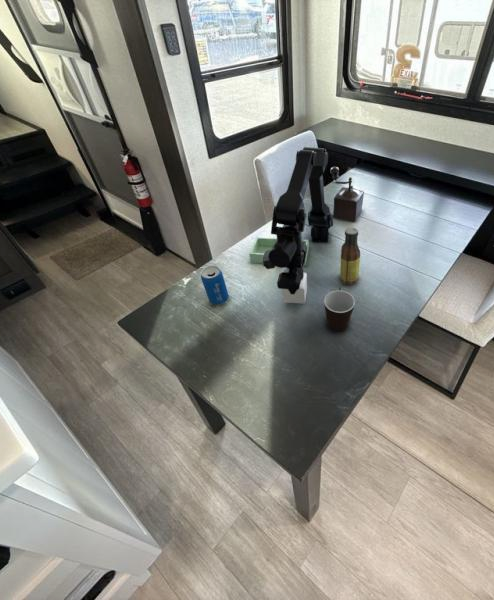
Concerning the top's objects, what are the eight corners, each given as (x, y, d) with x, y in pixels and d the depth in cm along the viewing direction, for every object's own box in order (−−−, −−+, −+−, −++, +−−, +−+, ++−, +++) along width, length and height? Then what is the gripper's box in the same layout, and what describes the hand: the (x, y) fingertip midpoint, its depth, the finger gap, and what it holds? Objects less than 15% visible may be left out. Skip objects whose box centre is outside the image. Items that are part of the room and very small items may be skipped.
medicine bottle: (307, 287, 104) (306, 260, 95) (305, 304, 99) (303, 277, 90) (285, 286, 104) (282, 259, 95) (282, 302, 100) (279, 276, 91)
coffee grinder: (363, 209, 140) (367, 169, 127) (355, 222, 133) (359, 181, 120) (330, 203, 145) (332, 164, 132) (321, 215, 138) (322, 175, 125)
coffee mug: (343, 339, 90) (346, 317, 83) (318, 327, 94) (318, 305, 87) (360, 313, 97) (364, 290, 90) (336, 303, 100) (337, 280, 93)
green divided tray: (257, 245, 123) (256, 236, 120) (308, 248, 121) (308, 239, 118) (251, 262, 116) (249, 253, 113) (305, 266, 114) (305, 257, 111)
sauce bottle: (360, 276, 109) (366, 227, 95) (354, 287, 105) (360, 238, 91) (342, 271, 111) (346, 223, 97) (336, 282, 107) (339, 233, 93)
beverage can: (212, 309, 100) (202, 281, 92) (207, 296, 104) (197, 269, 96) (231, 302, 102) (224, 274, 94) (225, 290, 106) (217, 262, 98)
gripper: (270, 224, 94) (275, 264, 106) (255, 264, 82) (262, 305, 93) (306, 226, 93) (307, 266, 104) (297, 267, 80) (300, 307, 92)
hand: (294, 285), depth 98 cm, fingers closed on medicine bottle, 7 cm apart
